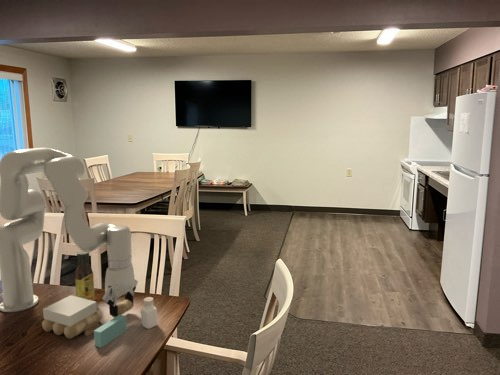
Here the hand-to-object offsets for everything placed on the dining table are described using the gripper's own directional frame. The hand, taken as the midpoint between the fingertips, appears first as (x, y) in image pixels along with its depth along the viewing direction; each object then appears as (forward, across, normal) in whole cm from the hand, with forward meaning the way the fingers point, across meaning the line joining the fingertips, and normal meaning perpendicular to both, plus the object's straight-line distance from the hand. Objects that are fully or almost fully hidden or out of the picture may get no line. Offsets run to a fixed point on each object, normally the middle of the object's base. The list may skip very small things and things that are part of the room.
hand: (121, 310), depth 137 cm
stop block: (+2, +12, +6) cm, 14 cm away
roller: (+1, 0, 0) cm, 1 cm away
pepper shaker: (+2, +1, +13) cm, 13 cm away
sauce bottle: (+3, -2, -19) cm, 20 cm away
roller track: (+3, +12, -6) cm, 14 cm away
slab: (-1, +12, -11) cm, 16 cm away
